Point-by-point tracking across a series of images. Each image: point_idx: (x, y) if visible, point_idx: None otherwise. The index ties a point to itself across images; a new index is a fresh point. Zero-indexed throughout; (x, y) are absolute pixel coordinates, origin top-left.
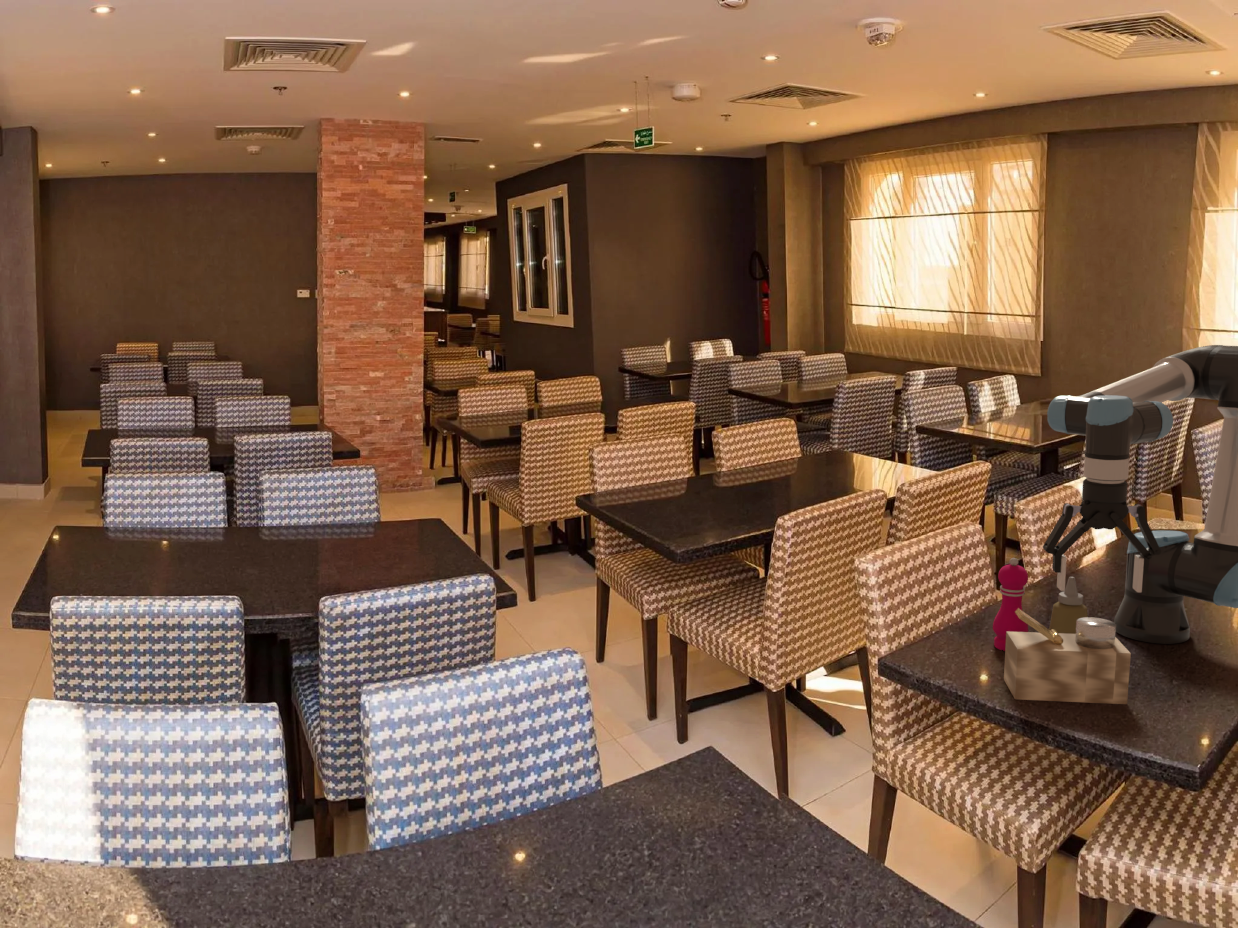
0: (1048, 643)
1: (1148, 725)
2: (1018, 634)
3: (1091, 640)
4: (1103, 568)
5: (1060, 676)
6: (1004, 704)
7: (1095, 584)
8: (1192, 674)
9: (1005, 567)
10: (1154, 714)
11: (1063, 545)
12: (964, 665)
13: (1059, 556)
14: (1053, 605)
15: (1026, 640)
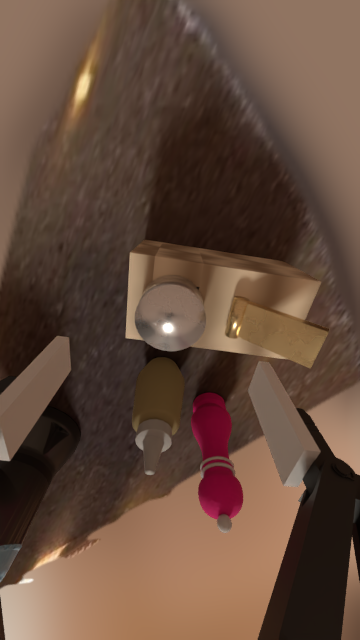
0: None
1: (144, 159)
2: None
3: (190, 285)
4: (45, 543)
5: (237, 260)
6: (307, 244)
7: (63, 519)
8: (31, 328)
9: (237, 511)
10: (121, 201)
11: (351, 515)
12: (285, 361)
13: (331, 457)
14: (177, 429)
15: None
